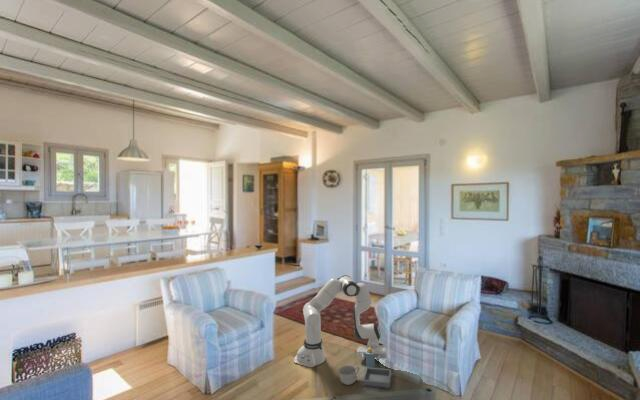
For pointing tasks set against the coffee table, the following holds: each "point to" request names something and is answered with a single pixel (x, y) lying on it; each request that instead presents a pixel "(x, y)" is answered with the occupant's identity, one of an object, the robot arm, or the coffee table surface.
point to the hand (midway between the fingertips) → (370, 358)
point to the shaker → (370, 359)
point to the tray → (377, 377)
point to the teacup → (348, 374)
